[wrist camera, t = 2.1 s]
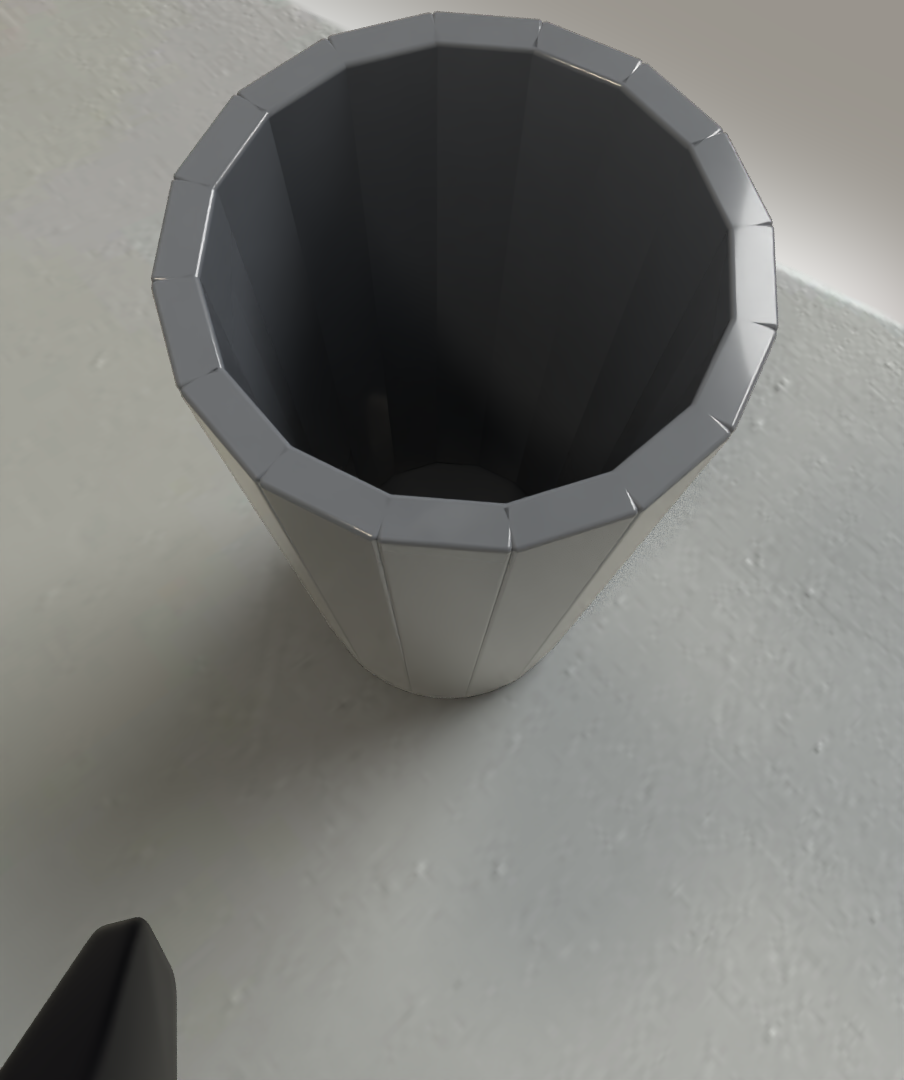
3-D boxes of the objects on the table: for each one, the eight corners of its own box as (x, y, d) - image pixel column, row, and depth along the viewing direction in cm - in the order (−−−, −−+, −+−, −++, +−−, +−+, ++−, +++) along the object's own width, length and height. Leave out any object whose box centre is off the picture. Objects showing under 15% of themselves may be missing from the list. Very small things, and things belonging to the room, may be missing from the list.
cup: (614, 520, 21) (861, 145, 9) (507, 745, 20) (629, 669, 7) (396, 416, 22) (346, -63, 10) (275, 625, 20) (26, 369, 8)
